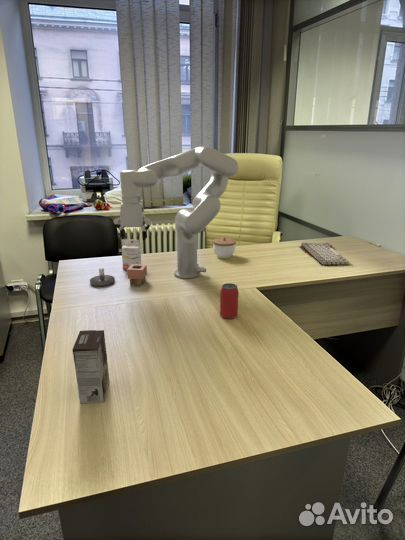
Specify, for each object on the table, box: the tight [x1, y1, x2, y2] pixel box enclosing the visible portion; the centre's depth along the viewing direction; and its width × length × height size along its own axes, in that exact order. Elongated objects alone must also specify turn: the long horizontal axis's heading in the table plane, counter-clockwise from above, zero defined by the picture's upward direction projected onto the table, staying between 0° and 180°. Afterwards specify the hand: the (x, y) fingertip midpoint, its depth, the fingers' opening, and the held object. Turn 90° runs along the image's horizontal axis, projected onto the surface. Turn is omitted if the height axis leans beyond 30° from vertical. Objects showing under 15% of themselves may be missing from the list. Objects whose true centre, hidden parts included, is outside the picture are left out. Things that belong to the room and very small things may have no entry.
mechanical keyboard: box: [298, 241, 351, 267], centre depth 209 cm, size 38×19×3 cm, turn 4°
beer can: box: [219, 282, 239, 320], centre depth 137 cm, size 7×7×12 cm
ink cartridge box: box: [121, 238, 142, 271], centre depth 185 cm, size 9×5×15 cm, turn 84°
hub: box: [89, 267, 116, 288], centre depth 169 cm, size 11×11×7 cm
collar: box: [126, 264, 148, 280], centre depth 168 cm, size 7×7×4 cm
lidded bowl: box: [212, 236, 237, 259], centre depth 204 cm, size 13×13×11 cm
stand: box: [129, 265, 146, 287], centre depth 168 cm, size 5×9×8 cm, turn 173°
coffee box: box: [72, 329, 110, 404], centre depth 95 cm, size 9×6×16 cm
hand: (133, 239), depth 163 cm, fingers open, 9 cm apart
